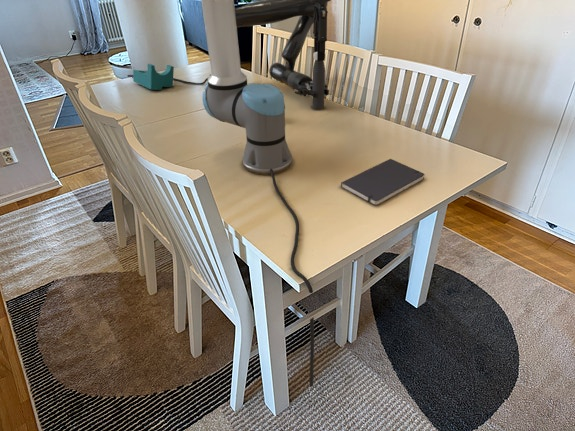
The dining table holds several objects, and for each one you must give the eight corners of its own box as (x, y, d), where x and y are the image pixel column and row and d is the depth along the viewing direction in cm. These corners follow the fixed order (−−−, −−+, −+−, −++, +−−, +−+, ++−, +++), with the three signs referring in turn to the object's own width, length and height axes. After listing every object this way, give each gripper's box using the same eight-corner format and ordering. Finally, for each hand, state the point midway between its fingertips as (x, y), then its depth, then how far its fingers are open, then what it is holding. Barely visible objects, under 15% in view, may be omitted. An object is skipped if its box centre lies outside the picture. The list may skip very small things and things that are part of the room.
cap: (314, 56, 154) (314, 51, 153) (326, 57, 153) (326, 51, 152) (312, 60, 151) (312, 54, 150) (324, 60, 150) (324, 54, 149)
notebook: (389, 163, 124) (340, 187, 113) (390, 158, 123) (341, 182, 112) (424, 178, 116) (375, 206, 105) (425, 174, 115) (376, 201, 104)
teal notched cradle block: (172, 90, 189) (173, 66, 185) (150, 89, 182) (151, 65, 177) (154, 81, 200) (155, 59, 196) (133, 80, 193) (133, 57, 188)
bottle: (325, 106, 164) (327, 53, 152) (322, 110, 161) (323, 56, 149) (314, 105, 166) (314, 52, 154) (310, 109, 162) (311, 55, 150)
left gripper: (284, 76, 165) (306, 87, 153) (314, 70, 170) (337, 81, 158) (285, 94, 169) (306, 107, 157) (313, 88, 175) (336, 99, 163)
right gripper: (337, -9, 131) (334, 64, 144) (325, -16, 147) (324, 50, 160) (314, -8, 130) (313, 65, 144) (305, -15, 146) (305, 52, 159)
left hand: (322, 94), depth 158 cm, fingers closed on bottle, 4 cm apart
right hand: (319, 57), depth 152 cm, fingers open, 7 cm apart
